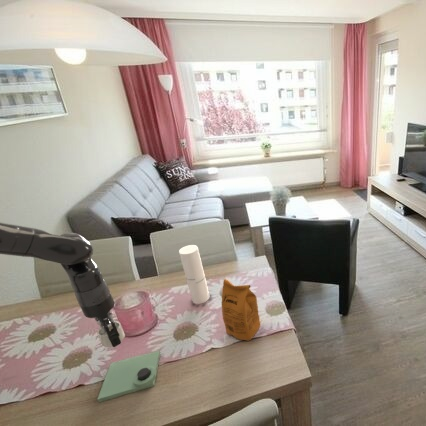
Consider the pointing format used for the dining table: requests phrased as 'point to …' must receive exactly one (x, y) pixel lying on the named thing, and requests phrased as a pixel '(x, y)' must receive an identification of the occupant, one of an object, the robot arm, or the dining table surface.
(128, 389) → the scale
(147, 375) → the button
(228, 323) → the coffee package
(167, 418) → the dining table surface
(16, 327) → the dining table surface
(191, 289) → the cylindrical container
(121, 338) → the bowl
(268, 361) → the dining table surface
